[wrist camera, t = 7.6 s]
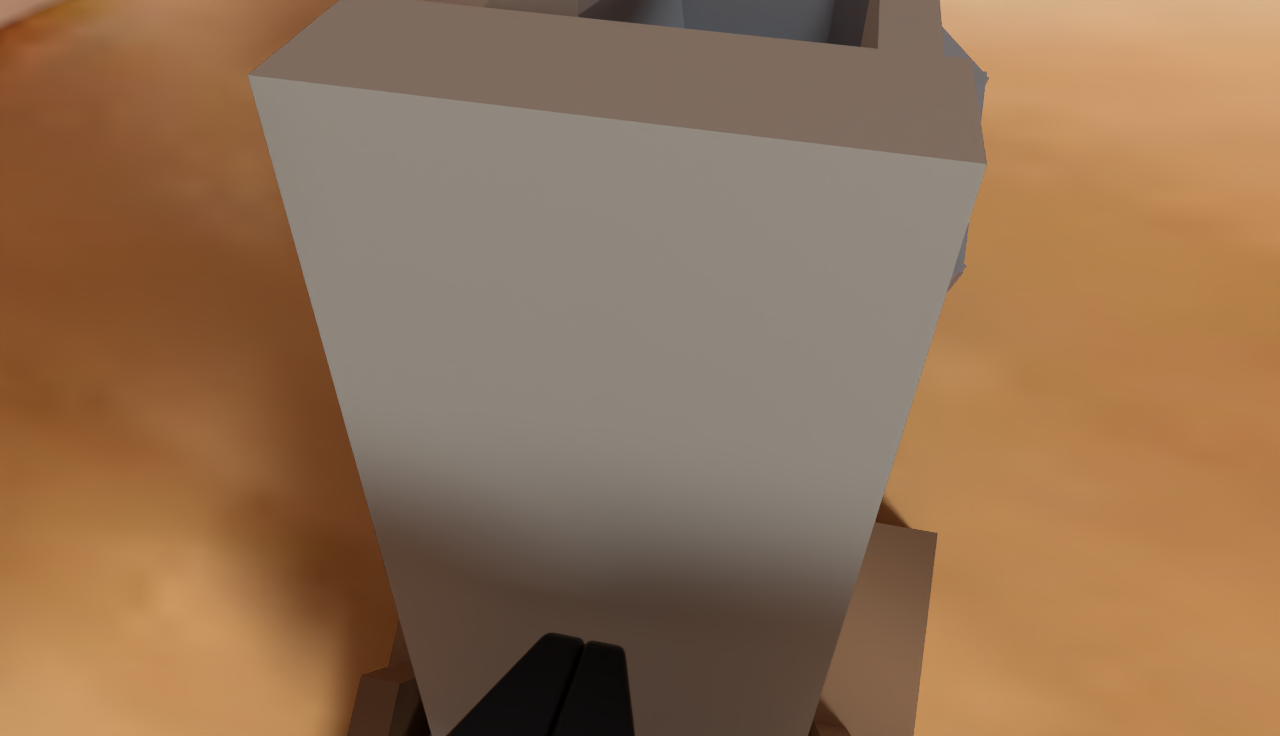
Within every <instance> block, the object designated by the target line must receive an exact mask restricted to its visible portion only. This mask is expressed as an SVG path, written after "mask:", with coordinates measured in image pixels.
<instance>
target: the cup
mask: <svg viewBox="0 0 1280 736" xmlns="http://www.w3.org/2000/svg"><path fill="white" fill-rule="evenodd" d="M868 5H869V0H578V17H581V18H590V19H600V20H609V21H619V22H628V23H638V24H647V25H657V26H666V27H676V28H685V29H695V30H704V31H714V32H723V33H733V34H742V35H752V36H761V37H771V38H780V39H790V40H799V41H809V42H818V43H828V44H837V45H846V46H856V47H861V42H862V36H863V31H864V26H865V20H866V15H867V10H868ZM942 33H943V44H944V55H945V56H951V57H960V58H970V57H969V56H968V55H967V54H966V52H965V51H964V50H963V49H962V48H961V47H960V46H959V45H958V44H957V43H956V41H955V40H954V39H953V38H952V37H951V36H950V35H949V34H948V33H947V31H946V30H945V29H944V28H943V27H942ZM970 59H971V58H970ZM972 64H973V71H974V78H975V85H976V92H977V99H978V106H979V113H980V120H981V116H982V108H983V100H984V91H985V85H986V83H987V81H988V79H989V78H988V77H987V76H986V75H987V72H983V71H982V70H981V69H980V68H979V67H978V66H977V65H976V64H975V62H974V61H973V60H972ZM968 225H969V222H968ZM967 233H968V226H967V229H966V232H965V235H964V238H963V242H962V245H961V248H960V251H959V254H958V258H957V261H956V264H955V267H954V270H953V274H952V277H951V280H950V283H949V286H948V290H947V292H948V291H949V290H950V288H951V287H952V286H953V285H954V283H955V282H956V281H957V279H958V278H959V277H960V276H961V274H962V273H963V270H964V269H965V268H966V265H965V264H964V258H965V250H966V242H967Z"/></svg>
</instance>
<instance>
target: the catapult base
mask: <svg viewBox="0 0 1280 736" xmlns="http://www.w3.org/2000/svg"><path fill="white" fill-rule="evenodd" d="M936 541H937V533H934V532H928V531H922V530H917V529H911V528H905V527H900V526H894V525H888V524H882V523H877V522H875V523H874V526H873V529H872V533H871V536H870V539H869V542H868V545H867V549H866V552H865V555H864V558H863V561H862V565H861V568H860V571H859V574H858V577H857V581H856V584H855V587H854V590H853V593H852V597H851V600H850V603H849V606H848V609H847V613H846V616H845V619H844V622H843V625H842V629H841V632H840V635H839V638H838V641H837V645H836V648H835V651H834V654H833V657H832V661H831V664H830V667H829V670H828V673H827V677H826V680H825V683H824V686H823V689H822V693H821V696H820V699H819V702H818V705H817V709H816V712H815V715H814V718H813V721H812V725H811V728H810V731H809V734H808V736H913V735H914V726H915V718H916V709H917V701H918V693H919V684H920V676H921V667H922V659H923V651H924V642H925V634H926V625H927V617H928V608H929V600H930V592H931V583H932V575H933V566H934V558H935V549H936ZM430 733H431V731H430V727H429V724H428V720H427V717H426V713H425V710H424V706H423V702H422V699H421V695H420V692H419V688H418V684H417V681H416V677H415V674H414V670H413V667H412V663H411V659H410V656H409V652H408V649H407V645H406V641H405V638H404V634H403V631H402V627H401V623H400V620H399V622H398V627H397V631H396V636H395V640H394V645H393V649H392V654H391V658H390V663H389V667H387V668H384V669H381V670H377V671H374V672H371V673H368V674H364V675H361V679H360V683H359V688H358V692H357V697H356V701H355V705H354V710H353V714H352V719H351V723H350V727H349V732H348V736H430Z"/></svg>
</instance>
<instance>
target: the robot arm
mask: <svg viewBox="0 0 1280 736" xmlns="http://www.w3.org/2000/svg"><path fill="white" fill-rule="evenodd" d="M446 736H635V728H634V720H633V711H632V703H631V695H630V686H629V678H628V669H627V661H626V654H625V650H624V649H623V648H622V647H621V646H619V645H614V644H609V643H604V642H599V641H594V640H593V641H588V642H587V643H586V644H585V643H584V641H583V640H582V639H581V638H579V637H574V636H569V635H564V634H559V633H554V632H549V633H547V634H545V635H543V636H542V637H541V638H540V639H539V640H538V641H537V642H536V643H535V644H534V645H533V646H532V647H531V648H530V649H529V650H528V651H527V652H526V653H525V654H524V655H523V656H522V657H521V658H520V659H519V660H518V661H517V663H516V664H515V665H514V666H513V667H512V668H511V669H510V670H509V671H508V672H507V673H506V674H505V675H504V676H503V677H502V678H501V679H500V680H499V681H498V682H497V683H496V684H495V685H494V686H493V687H492V688H491V689H490V690H489V691H488V693H487V694H486V695H485V696H484V697H483V698H482V699H481V700H480V701H479V702H478V703H477V704H476V705H475V706H474V707H473V708H472V709H471V710H470V711H469V712H468V713H467V714H466V715H465V716H464V717H463V718H462V719H461V720H460V721H459V723H458V724H457V725H456V726H455V727H454V728H453V729H452V730H451V731H450V732H449V733H448V734H447V735H446Z"/></svg>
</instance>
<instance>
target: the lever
mask: <svg viewBox="0 0 1280 736" xmlns="http://www.w3.org/2000/svg"><path fill="white" fill-rule="evenodd" d="M248 78H249V82H250V85H251V89H252V93H253V96H254V100H255V103H256V107H257V111H258V114H259V118H260V121H261V125H262V128H263V132H264V136H265V139H266V143H267V146H268V150H269V154H270V157H271V161H272V164H273V168H274V172H275V175H276V179H277V182H278V186H279V189H280V193H281V197H282V200H283V204H284V207H285V211H286V215H287V218H288V222H289V225H290V229H291V232H292V236H293V240H294V243H295V247H296V250H297V254H298V258H299V261H300V265H301V268H302V272H303V276H304V279H305V283H306V286H307V290H308V293H309V297H310V301H311V304H312V308H313V311H314V315H315V319H316V322H317V326H318V329H319V333H320V337H321V340H322V344H323V347H324V351H325V354H326V358H327V362H328V365H329V369H330V372H331V376H332V380H333V383H334V387H335V390H336V394H337V397H338V401H339V405H340V408H341V412H342V415H343V419H344V423H345V426H346V430H347V433H348V437H349V441H350V444H351V448H352V451H353V455H354V458H355V462H356V466H357V469H358V473H359V476H360V480H361V484H362V487H363V491H364V494H365V498H366V502H367V505H368V509H369V512H370V516H371V519H372V523H373V527H374V530H375V534H376V537H377V541H378V545H379V548H380V552H381V555H382V559H383V562H384V566H385V570H386V573H387V577H388V580H389V584H390V588H391V591H392V595H393V598H394V602H395V606H396V609H397V613H398V616H399V620H400V623H401V627H402V631H403V634H404V638H405V641H406V645H407V649H408V652H409V656H410V659H411V663H412V667H413V670H414V674H415V677H416V681H417V684H418V688H419V692H420V695H421V699H422V702H423V706H424V710H425V713H426V717H427V720H428V724H429V727H430V731H431V733H430V736H446V735H447V734H448V733H449V732H450V731H451V730H452V729H453V728H454V727H455V726H456V725H457V724H458V723H459V721H460V720H461V719H462V718H463V717H464V716H465V715H466V714H467V713H468V712H469V711H470V710H471V709H472V708H473V707H474V706H475V705H476V704H477V703H478V702H479V701H480V700H481V699H482V698H483V697H484V696H485V695H486V694H487V693H488V691H489V690H490V689H491V688H492V687H493V686H494V685H495V684H496V683H497V682H498V681H499V680H500V679H501V678H502V677H503V676H504V675H505V674H506V673H507V672H508V671H509V670H510V669H511V668H512V667H513V666H514V665H515V664H516V663H517V661H518V660H519V659H520V658H521V657H522V656H523V655H524V654H525V653H526V652H527V651H528V650H529V649H530V648H531V647H532V646H533V645H534V644H535V643H536V642H537V641H538V640H539V639H540V638H541V637H542V636H543V635H545V634H547V633H549V632H554V633H559V634H564V635H569V636H574V637H579V638H581V639H582V640H583V641H584V643H585V644H586V643H587V642H588V641H593V640H594V641H599V642H604V643H609V644H614V645H619V646H621V647H622V648H623V649H624V650H625V654H626V661H627V669H628V678H629V686H630V695H631V703H632V711H633V720H634V728H635V736H808V734H809V731H810V728H811V725H812V721H813V718H814V715H815V712H816V709H817V705H818V702H819V699H820V696H821V693H822V689H823V686H824V683H825V680H826V677H827V673H828V670H829V667H830V664H831V661H832V657H833V654H834V651H835V648H836V645H837V641H838V638H839V635H840V632H841V629H842V625H843V622H844V619H845V616H846V613H847V609H848V606H849V603H850V600H851V597H852V593H853V590H854V587H855V584H856V581H857V577H858V574H859V571H860V568H861V565H862V561H863V558H864V555H865V552H866V549H867V545H868V542H869V539H870V536H871V533H872V529H873V526H874V523H875V520H876V517H877V513H878V510H879V507H880V504H881V501H882V497H883V494H884V491H885V488H886V485H887V481H888V478H889V475H890V472H891V469H892V465H893V462H894V459H895V456H896V453H897V449H898V446H899V443H900V440H901V437H902V434H903V430H904V427H905V424H906V421H907V418H908V414H909V411H910V408H911V405H912V402H913V398H914V395H915V392H916V389H917V386H918V382H919V379H920V376H921V373H922V370H923V366H924V363H925V360H926V357H927V354H928V350H929V347H930V344H931V341H932V338H933V334H934V331H935V328H936V325H937V322H938V318H939V315H940V312H941V309H942V306H943V302H944V299H945V296H946V293H947V290H948V286H949V283H950V280H951V277H952V274H953V270H954V267H955V264H956V261H957V258H958V254H959V251H960V248H961V245H962V242H963V238H964V235H965V232H966V229H967V226H968V222H969V219H970V216H971V213H972V210H973V206H974V203H975V200H976V197H977V194H978V190H979V187H980V184H981V181H982V178H983V174H984V171H985V168H986V165H987V163H986V156H985V149H984V142H983V135H982V128H981V120H980V113H979V106H978V99H977V92H976V85H975V78H974V71H973V64H972V59H970V58H960V57H951V56H945V55H944V44H943V33H942V22H941V11H940V0H869V5H868V10H867V15H866V20H865V26H864V31H863V36H862V42H861V47H856V46H846V45H837V44H828V43H818V42H809V41H799V40H790V39H780V38H771V37H761V36H752V35H742V34H733V33H723V32H714V31H704V30H695V29H685V28H676V27H666V26H657V25H647V24H638V23H628V22H619V21H609V20H600V19H590V18H581V17H578V0H426V1H420V0H339V1H337V2H336V3H335V4H334V5H333V6H331V7H330V8H329V9H328V10H327V11H325V12H324V13H323V14H322V15H320V16H319V17H318V18H317V19H316V20H314V21H313V22H312V23H311V24H309V25H308V26H307V27H306V28H305V29H303V30H302V31H301V32H300V33H298V34H297V35H296V36H295V37H294V38H292V39H291V40H290V41H289V42H287V43H286V44H285V45H284V46H283V47H281V48H280V49H279V50H278V51H276V52H275V53H274V54H273V55H272V56H270V57H269V58H268V59H267V60H265V61H264V62H263V63H262V64H261V65H259V66H258V67H257V68H256V69H254V70H253V71H252V72H251V73H250V74H248Z"/></svg>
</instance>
